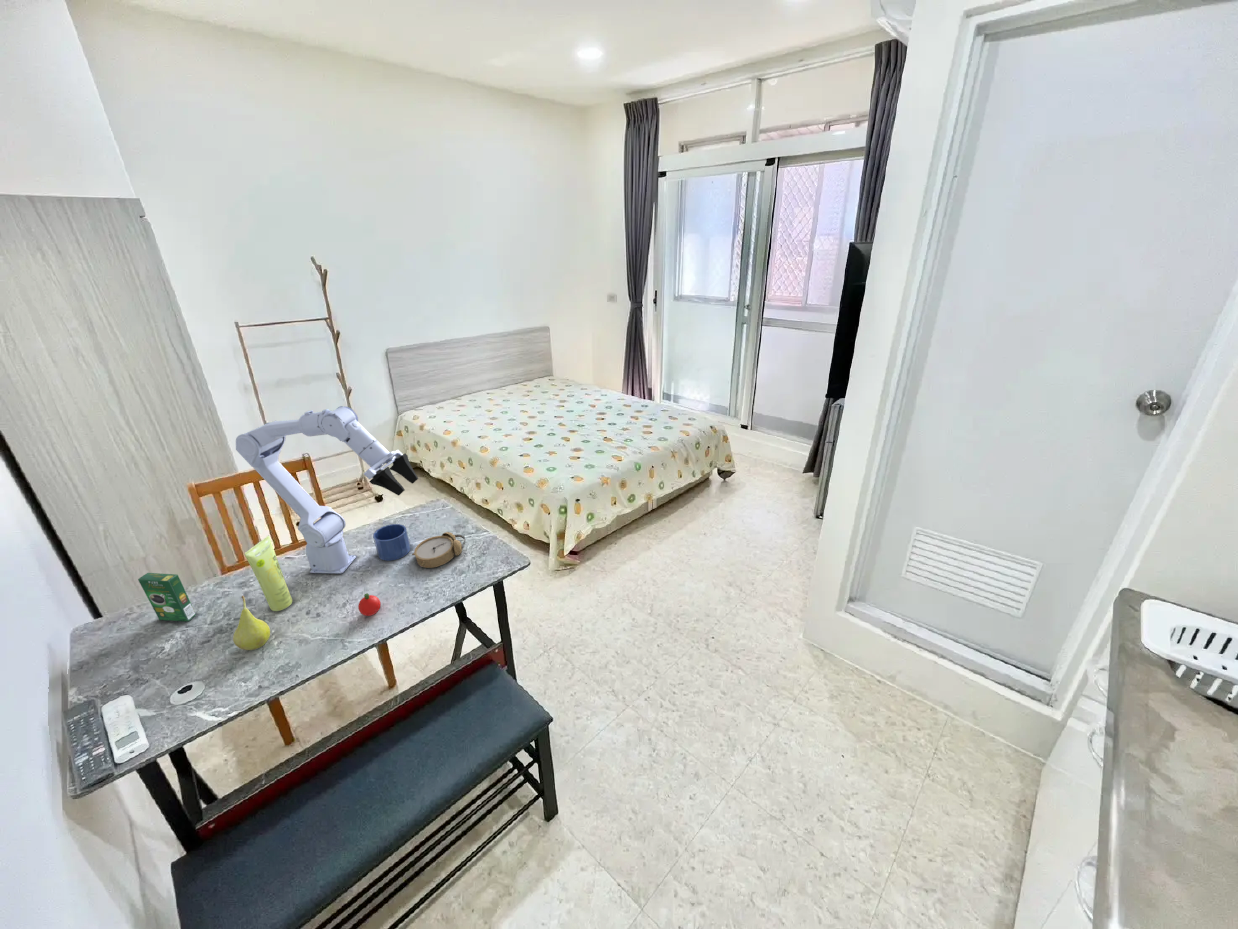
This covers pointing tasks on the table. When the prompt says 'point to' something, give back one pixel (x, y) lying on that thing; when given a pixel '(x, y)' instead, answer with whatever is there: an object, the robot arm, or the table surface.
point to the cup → (391, 542)
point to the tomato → (369, 605)
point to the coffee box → (167, 596)
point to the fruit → (250, 631)
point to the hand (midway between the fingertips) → (408, 486)
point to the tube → (269, 574)
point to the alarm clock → (438, 550)
